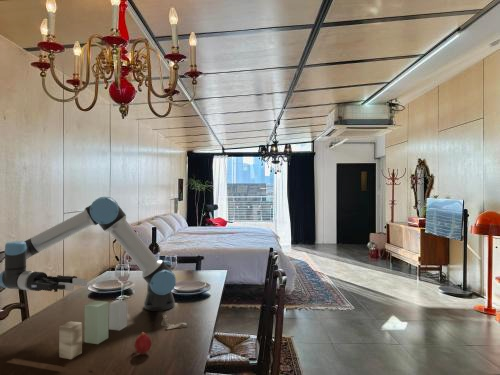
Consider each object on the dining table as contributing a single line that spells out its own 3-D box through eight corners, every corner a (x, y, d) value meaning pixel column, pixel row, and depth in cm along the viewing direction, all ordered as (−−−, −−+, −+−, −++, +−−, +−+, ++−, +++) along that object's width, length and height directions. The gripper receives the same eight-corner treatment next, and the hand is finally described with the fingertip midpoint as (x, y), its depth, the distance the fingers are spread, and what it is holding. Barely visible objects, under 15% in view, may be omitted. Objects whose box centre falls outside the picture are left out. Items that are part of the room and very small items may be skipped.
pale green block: (84, 342, 134) (84, 305, 134) (95, 336, 140) (95, 300, 140) (97, 344, 132) (97, 306, 132) (108, 337, 138) (108, 301, 138)
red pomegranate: (136, 351, 129) (136, 329, 129) (152, 350, 130) (152, 328, 130) (132, 358, 123) (132, 335, 124) (149, 357, 124) (149, 334, 124)
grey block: (116, 328, 152) (117, 299, 152) (126, 329, 150) (127, 300, 150) (109, 332, 147) (109, 303, 147) (119, 333, 145) (119, 304, 146)
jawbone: (169, 335, 146) (169, 330, 146) (146, 322, 161) (146, 318, 161) (188, 327, 152) (187, 323, 152) (164, 316, 167) (164, 312, 167)
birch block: (70, 354, 126) (70, 321, 127) (81, 356, 125) (81, 322, 125) (59, 361, 122) (59, 326, 122) (71, 363, 120) (71, 327, 120)
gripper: (52, 284, 154) (97, 287, 148) (11, 296, 136) (60, 301, 129) (53, 267, 154) (97, 270, 148) (11, 277, 136) (60, 281, 129)
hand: (79, 284), depth 138 cm, fingers open, 6 cm apart
